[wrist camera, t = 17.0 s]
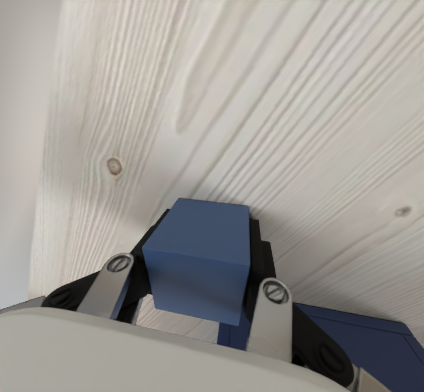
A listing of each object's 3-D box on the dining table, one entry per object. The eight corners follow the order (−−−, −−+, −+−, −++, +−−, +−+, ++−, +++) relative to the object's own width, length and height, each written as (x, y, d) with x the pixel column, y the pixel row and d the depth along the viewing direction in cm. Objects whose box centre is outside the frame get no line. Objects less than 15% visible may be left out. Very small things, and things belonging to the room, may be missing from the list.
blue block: (182, 248, 13) (154, 308, 9) (178, 197, 11) (141, 247, 7) (240, 257, 12) (238, 326, 8) (248, 205, 10) (250, 264, 6)
